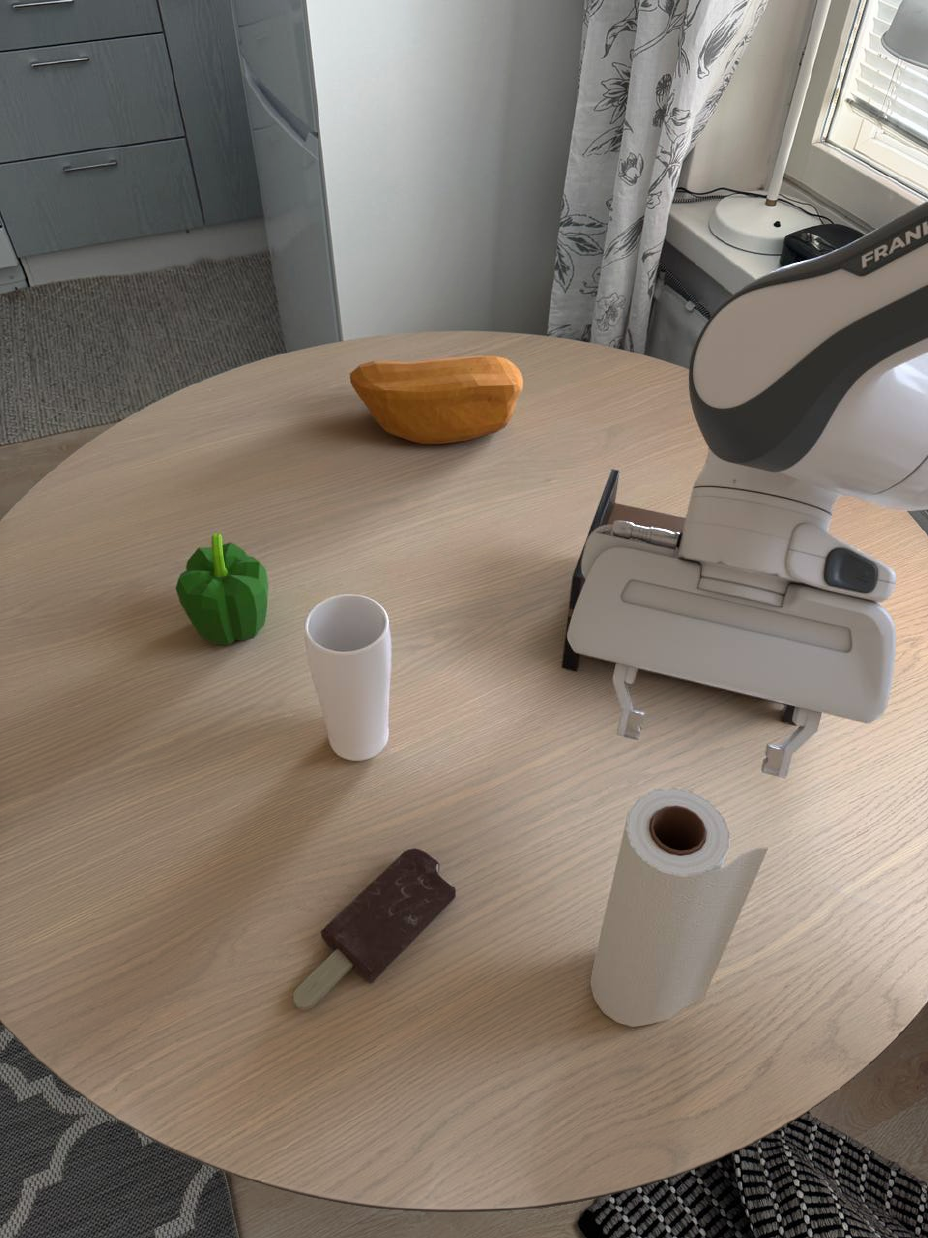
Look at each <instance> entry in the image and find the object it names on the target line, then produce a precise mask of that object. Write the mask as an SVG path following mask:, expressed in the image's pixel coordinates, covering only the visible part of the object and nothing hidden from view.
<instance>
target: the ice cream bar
mask: <svg viewBox="0 0 928 1238" xmlns="http://www.w3.org/2000/svg"><path fill="white" fill-rule="evenodd" d="M439 873H440V862H439V861H438V860H437V859H435V858H434V857H433V856H432V855H430V854H429V853H427V852H426V851H424V850H421V849H420V848H416V847H415V848H410V849H409V848H408V849H406V850H404V851H403V852H402V853H401V854H400V855H399V856H398V857H397V858H396V859H395V860H394V861H392V863H390V864H389V865H388V866H387V867H386V868H385V869H384V870H383V871H382V872H381V873H380V874H378V876H377V877H376V878H375V879H373V881H372V882H370V884H368V885H367V886H366V887H365V888H364V889H363V890H362V891H361V892H360V893H359V894H358V895H357V896H356V897H355V898H354V899H353V900H351V901H350V902H349V903H348V904H347V905H346V906H345V907H344V908H343V909H342V910H341V911H340V912H339V913H338V914H337V915H335V916H334V918H332V919H331V920H330V921H329V922H328V923H327V924H326V925H325V926H324V927H323V928H322V929H321V930H320V936H321V939H322V940H323V941H324V942H325V943H326V945H328V946H329V947H330V948H331V949H332V950H333V952H332V953H331V954H330V955H329V956H328V957H327V958H326V959H325V960H324V961H323V962H322V963H321V964H320V965H319V966H318V967H317V968H316V969H315V970H314V971H313V972H311V973H310V974H309V976H308V977H307V978H305V979H304V980H303V982H301V983H300V984H299V985H298V986H297V987H296V988H295V990H294V992H293V994H292V999H293V1002H294V1005H295V1007H296V1008H298V1009H299V1010H301V1011H305V1010H306V1011H307V1010H310V1009H311V1008H313V1007H315V1005H316V1004H317V1003H318V1002H319V1001H320V1000H322V999H323V997H324V996H325V995H327V993H328V992H330V991H331V989H332V988H333V987H335V986H336V985H337V983H338V982H340V981H341V980H342V978H344V976H346V975H347V973H349V972H350V970H351V969H353V970H354V971H355V972H356V973H357V974H358V975H359V976H360V977H362V978H363V979H364V980H366V981H367V982H369V983H370V984H372V983H374V981H376V979H377V978H378V977H379V976H380V975H381V974H382V973H383V972H384V971H385V970H386V969H387V968H388V967H389V966H391V964H392V963H393V962H394V961H395V960H396V959H397V958H398V957H399V956H400V955H401V954H402V953H403V952H404V951H405V950H406V949H407V948H408V946H410V945H411V944H412V942H413V941H415V940H416V939H417V938H418V937H419V935H421V933H422V932H423V931H424V930H425V929H426V928H427V927H428V926H429V925H430V924H431V923H432V922H433V921H434V920H435V919H436V918H437V917H438V916H439V915H440V914H441V913H442V912H443V911H444V910H445V909H446V908H447V907H448V906H449V905H450V904H451V903H452V902H453V901H454V899H456V898H457V889H456V886H453V885H451V884H450V883H448V882H447V881H446V880H445V879H444V878H442V876H440V875H439Z"/></svg>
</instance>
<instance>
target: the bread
mask: <svg viewBox="0 0 928 1238" xmlns="http://www.w3.org/2000/svg"><path fill="white" fill-rule="evenodd" d="M349 381H350V384H351V387H352V388H353V389H354V392H355V393H356V394H357V396H358V397H359V398H360V400H361V401H362V403H363V404H364V405H365V407H366V408H367V409H368V411H369V413H370V414H371V415H372V417H373V418H374V420H375V421H376V422H377V423H378V425H379V426H380V427H381V428H382V429H383V430H384V431H385V432H386V433H388V434H390V435H393V436H396V437H398V438H400V439H401V438H402V439H404V440H407V441H409V442H413V443H417V444H422V445H443V444H451V443H459V442H465V441H470V440H471V441H472V440H474V439H478V438H481V437H483V436H486V435H489V434H494V433H495V434H496V433H497V432H498V431H500V430H502V429H505V427H506V426H507V425H508V424H509V423H510V422H511V420H512V419H513V416H514V414H515V409H516V407H517V403H518V401H519V398H520V396H521V394H522V391H523V385H524V384H523V383H524V378H523V376H522V373H521V371H520V370H519V368H518V366H517V365H516V364H515V363H514V362H512V361H510V360H509V359H507V358H506V357H502V356H496V355H470V356H469V355H468V356H457V357H441V358H440V357H439V358H430V359H429V358H428V359H423V360H413V361H412V360H411V361H397V360H396V361H394V360H372V361H368V362H365V363H361V364H359V365H358V366H357V367H356V368H355V369H353V370H352V371H351V372H349Z"/></svg>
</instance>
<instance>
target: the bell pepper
mask: <svg viewBox="0 0 928 1238" xmlns="http://www.w3.org/2000/svg"><path fill="white" fill-rule="evenodd" d="M175 591H176V594H177V598H178V601H179V604H180V605H181V608H182V609H183V611H184V612H185V614H186V616H187V618H188V619H189V621H190V622H191V625H192V626H193V628H194V629H195V630H196V631H197V633H198V634H199V636H201V638H202V639H204V640H206V641H209V642H211V643H214V644H216V645H219V646H229V645H232V644H233V643H234V642H235V641H242V642H243V641H247V640H250V639H254V638H256V635H257V634H258V633H259V632H260V631H261V629H262V628H263V627H264V626H265V624H266V623H265V622H266V617H267V609H268V601H269V599H268V598H269V581H268V574H267V569H266V568H265V567H264V565H263V564H262V563H261V561H259V560H258V559H257V558H256V557H254V556H249V554H248V553H247V552H246V551H245V550H244V549H243V548H241V547H240V546H238V545H237V544H235V543H234V542H233V541H230V542H228V543H225V544H224V543H223V535H222V534H220V533H213V534H212V535H211V546H210V547H209V546H208V547H200V546H199V547H198V548H197V549H196V550H195V551H194V552H193V553H192V555H190V557H189V558H188V560H187V562H186V565H185V570H184V571H183V572H181V573H180V574H179V575H178V579H177V581H176V585H175Z"/></svg>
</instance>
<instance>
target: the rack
mask: <svg viewBox="0 0 928 1238" xmlns="http://www.w3.org/2000/svg"><path fill="white" fill-rule="evenodd" d="M619 479H620V470H618V469H613V468H612V469H611V470H610V472H609V475H608V478H607V481H606V484H605V487H604V489H603V492H602V495H601V498H600V499H599V503H598V506H597V509H596V511H595V514H594V516H593V520H592V522H591V525H590V528H589V530H588V533H587V535H586V538H585V541H584V544H583V547H582V550H581V552H580V555H579V557H578V560H577V563H576V566H575V568H574V571H573V574H572V577H571V587H570V595H569V604H568V613H567V620H566V627H565V635H564V636H565V638H564V645H563V654H562V661H561V668H562V669H564V670H570V671H573V672H578V670H579V666H580V664H581V660H582V657H585V658H589V659H593V660H598V661H601V662H606V663H610V664H614V665H616V662H612V661H608V660H604V659H599V658H595V657H591V656H587V655H583V654H579V653H576V652H574V651H573V649H572V647H571V645H570V643H569V641H568V639H567V633H568V629H569V625H570V622H571V618H572V615H573V612H574V609H575V606H576V603H577V600H578V598H579V595H580V592H581V590H582V587H583V585H584V583H585V578H584V576H583V574H582V571H581V560H582V556H583V551H584V547H585V543H586V540H587V538H588V537H589V535H590V534H591V533H592V532H593V531H594V530H595V529H597V528H598V527H601V526H604V525H613V523H614V521H626V522H630V523H633V524H634V525H638V526H640V527H641V526H643V527H648V528H649V527H650V528H659V529H664V530H669V531H674V532H678V533H681V532H683V527H684V523H685V519H686V516H680V515H675V514H670V513H666V512H660V511H655V510H651V509H647V508H641V507H636V506H631V505H626V504H622V503H616V498H617V492H618V485H619ZM601 534H606V535H611V536H614V535H612V534H611V531H605V532H602V533H601ZM615 537H616V536H615ZM630 540H634V539H630ZM634 541H638V542H642V541H639V540H634ZM643 543H646V542H643ZM649 544H650V543H649ZM677 552H678V549H677V547H676V554H675V558H677ZM677 559H678V558H677ZM638 670H639V671H643V672H647V673H651V674H656V675H659V676H664V677H667V678H672V679H677V680H681V681H684V682H689V683H693V684H695V685H696V684H697V685H699V686H704V687H705V686H706V687H710V688H714V689H717V690H722V691H725V692H730V693H733V694H738V695H743V696H746V697H750V698H754V699H759V700H762V701H768V702H771V703H775V704H780V705H783V708H782V712H781V718H780V719H781V722H782V723H786V724H789V725H794V726H797V725H796V724H795V723H794V722H793V721H792V718H793V714H794V709H795V706H792V705H788V704H784V703H780V702H776V701H772V700H768V699H763V698H759V697H755V696H751V695H747V694H743V693H739V692H735V691H731V690H727V689H722V688H718V687H714V686H710V685H706V684H702V683H698V682H694V681H690V680H686V679H681V678H677V677H673V676H669V675H665V674H661V673H657V672H653V671H649V670H645V669H640V668H638Z"/></svg>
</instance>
